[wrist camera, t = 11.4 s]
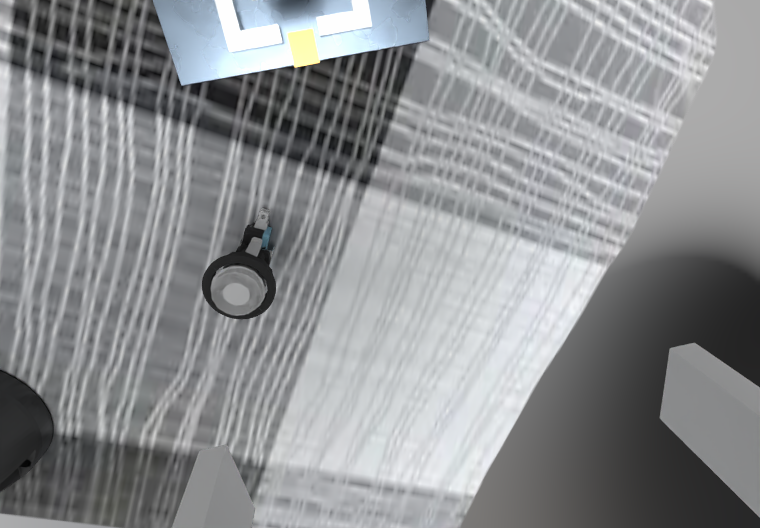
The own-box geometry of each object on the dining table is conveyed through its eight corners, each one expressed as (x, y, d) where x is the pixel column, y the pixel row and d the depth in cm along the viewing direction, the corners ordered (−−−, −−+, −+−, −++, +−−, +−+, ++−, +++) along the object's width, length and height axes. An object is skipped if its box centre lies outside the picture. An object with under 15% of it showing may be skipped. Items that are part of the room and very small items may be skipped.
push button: (238, 199, 37) (208, 234, 28) (296, 215, 38) (285, 255, 29) (224, 264, 39) (192, 316, 30) (279, 277, 41) (264, 332, 31)
